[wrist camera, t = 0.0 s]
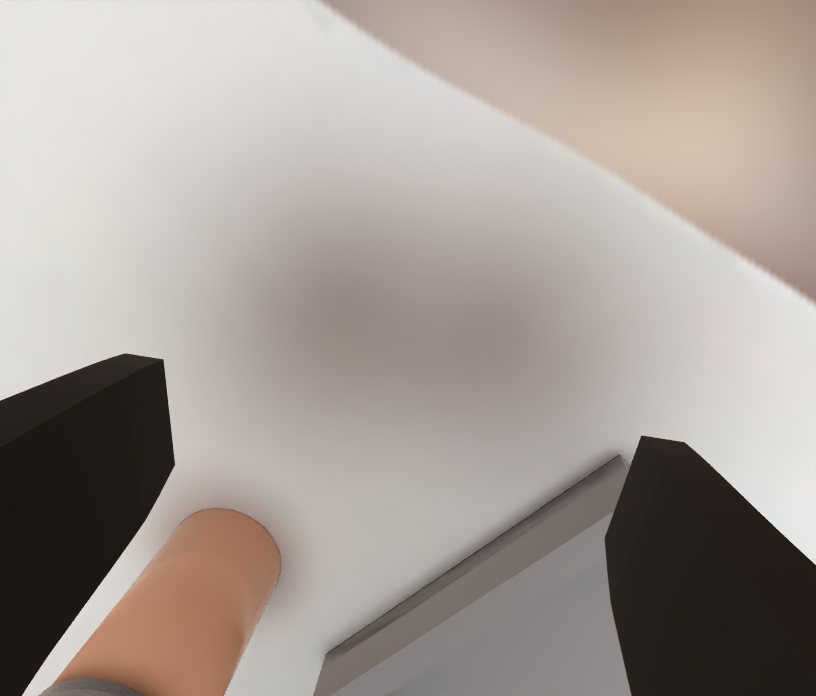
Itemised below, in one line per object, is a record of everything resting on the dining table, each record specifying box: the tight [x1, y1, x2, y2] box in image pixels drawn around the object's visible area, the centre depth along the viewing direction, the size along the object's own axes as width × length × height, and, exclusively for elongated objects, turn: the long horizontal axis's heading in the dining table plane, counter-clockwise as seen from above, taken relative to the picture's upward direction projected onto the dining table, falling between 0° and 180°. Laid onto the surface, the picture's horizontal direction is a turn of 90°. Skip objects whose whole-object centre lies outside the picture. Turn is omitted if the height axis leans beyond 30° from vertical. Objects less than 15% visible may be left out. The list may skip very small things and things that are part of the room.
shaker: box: [39, 508, 281, 696], centre depth 19 cm, size 5×5×9 cm
